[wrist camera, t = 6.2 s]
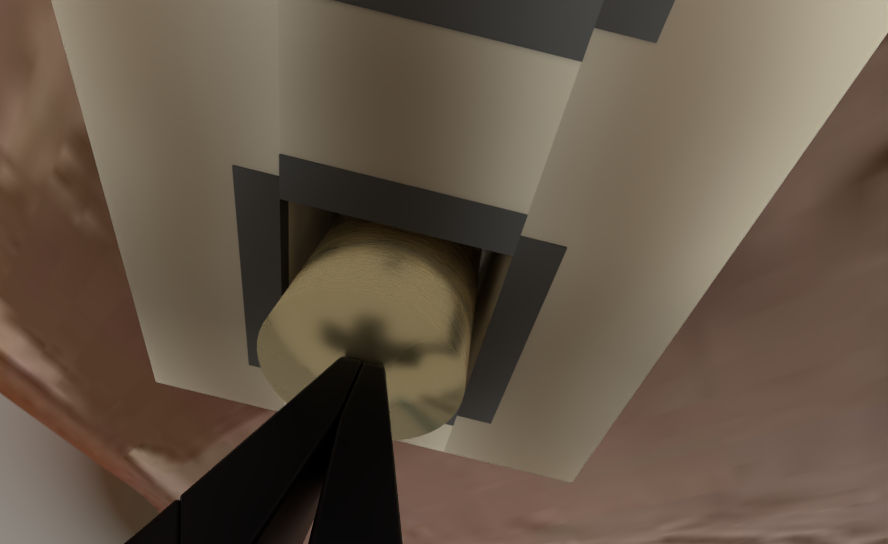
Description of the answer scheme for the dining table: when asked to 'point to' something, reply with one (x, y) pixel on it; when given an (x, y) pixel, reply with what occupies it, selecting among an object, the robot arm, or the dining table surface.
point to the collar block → (455, 173)
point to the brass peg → (379, 319)
